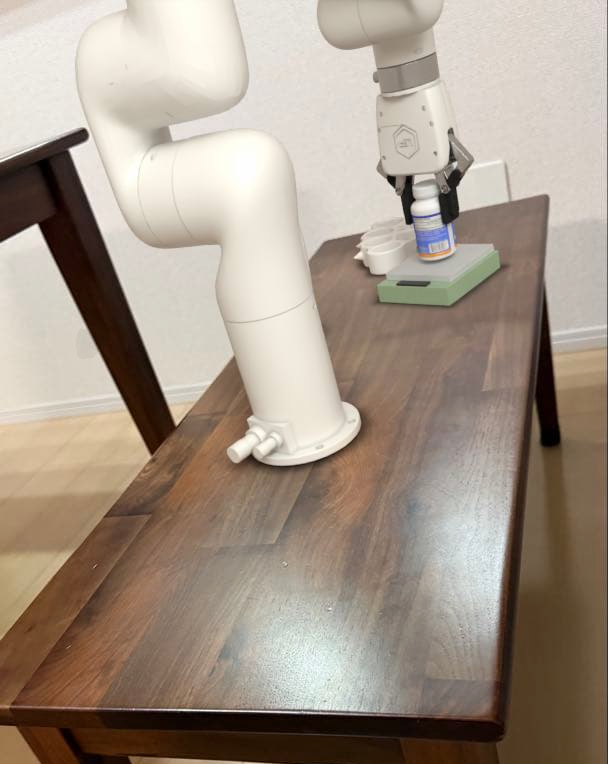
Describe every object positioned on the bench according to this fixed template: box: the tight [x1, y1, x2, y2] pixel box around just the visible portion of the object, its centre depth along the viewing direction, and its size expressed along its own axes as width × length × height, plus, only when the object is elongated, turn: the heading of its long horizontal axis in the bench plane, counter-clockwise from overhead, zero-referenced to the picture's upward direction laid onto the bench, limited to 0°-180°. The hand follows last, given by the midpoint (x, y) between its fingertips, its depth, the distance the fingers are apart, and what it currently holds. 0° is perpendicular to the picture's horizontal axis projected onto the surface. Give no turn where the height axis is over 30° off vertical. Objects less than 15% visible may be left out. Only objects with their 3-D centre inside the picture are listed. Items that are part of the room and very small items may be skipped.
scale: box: [376, 243, 501, 307], centre depth 119 cm, size 13×12×4 cm
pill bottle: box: [411, 178, 458, 261], centre depth 116 cm, size 5×5×10 cm
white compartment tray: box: [352, 216, 418, 276], centre depth 135 cm, size 3×18×15 cm
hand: (432, 219), depth 116 cm, fingers closed on pill bottle, 5 cm apart
